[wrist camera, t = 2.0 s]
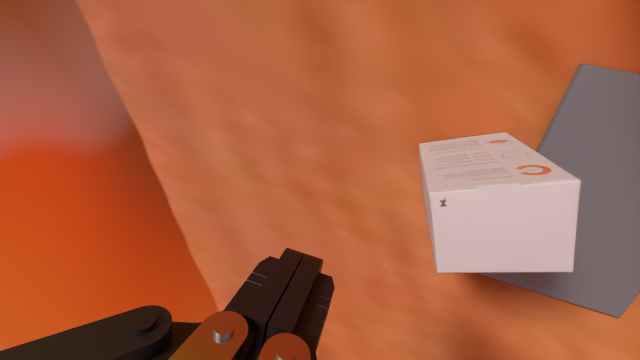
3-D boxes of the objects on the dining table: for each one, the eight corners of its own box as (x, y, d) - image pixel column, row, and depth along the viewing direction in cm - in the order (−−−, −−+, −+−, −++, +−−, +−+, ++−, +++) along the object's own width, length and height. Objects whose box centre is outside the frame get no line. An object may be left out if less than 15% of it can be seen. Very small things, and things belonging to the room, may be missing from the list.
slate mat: (579, 64, 25) (583, 63, 24) (782, 101, 23) (792, 102, 22) (476, 270, 34) (477, 274, 33) (615, 313, 31) (619, 317, 31)
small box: (423, 199, 32) (434, 275, 21) (417, 142, 30) (426, 190, 19) (508, 193, 30) (576, 275, 18) (508, 130, 28) (584, 176, 16)
